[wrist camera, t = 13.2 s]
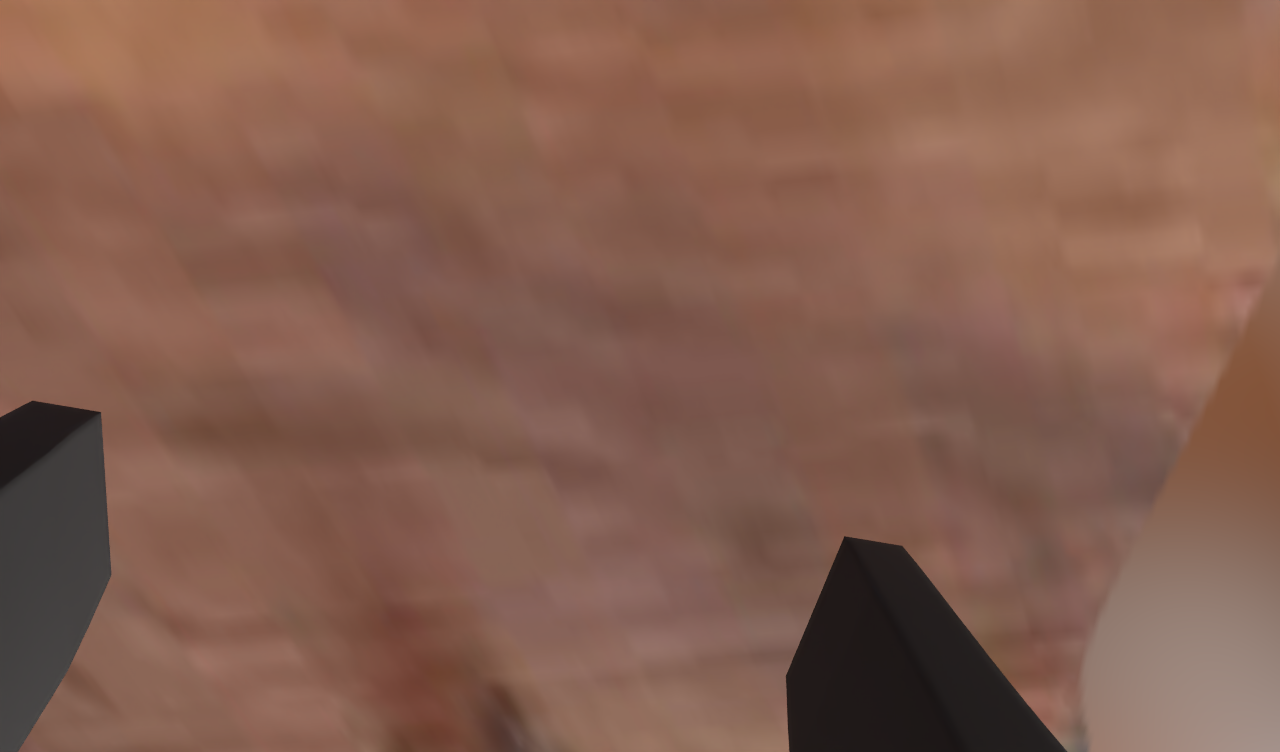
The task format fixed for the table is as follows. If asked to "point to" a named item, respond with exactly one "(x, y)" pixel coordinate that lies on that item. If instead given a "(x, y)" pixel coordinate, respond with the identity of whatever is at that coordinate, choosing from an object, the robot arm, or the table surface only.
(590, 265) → the table surface
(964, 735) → the robot arm
